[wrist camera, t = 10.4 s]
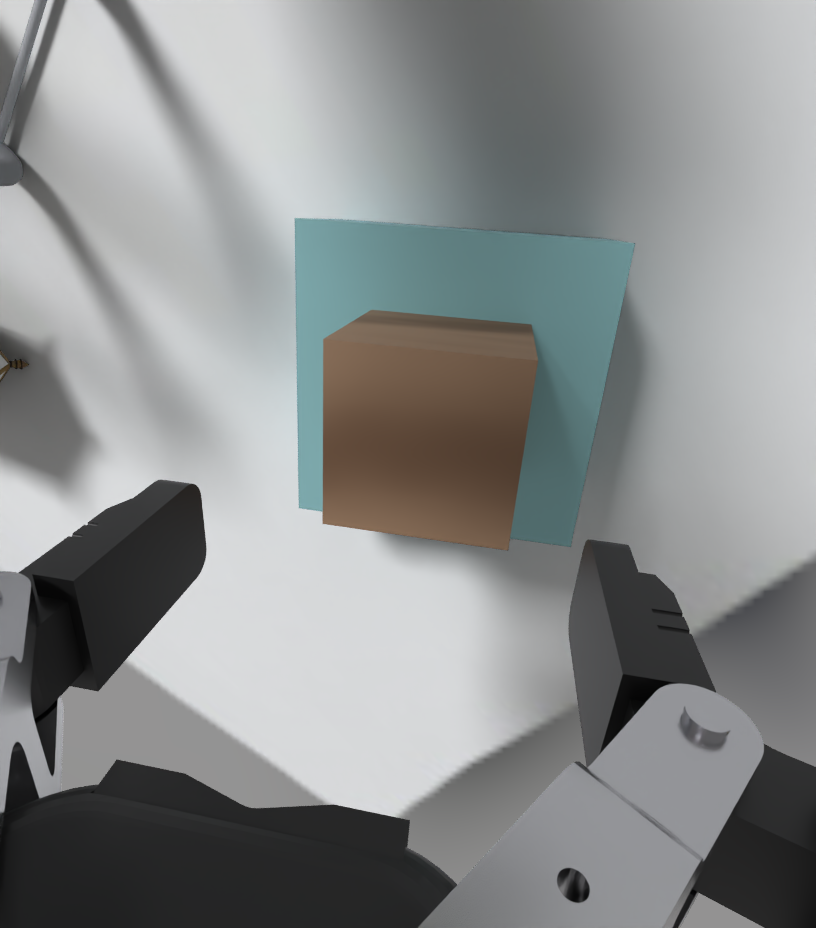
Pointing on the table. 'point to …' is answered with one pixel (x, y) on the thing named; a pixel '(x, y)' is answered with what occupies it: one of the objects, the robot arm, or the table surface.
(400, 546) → the table surface
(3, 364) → the game die
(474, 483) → the walnut cube
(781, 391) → the table surface
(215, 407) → the table surface
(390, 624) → the table surface
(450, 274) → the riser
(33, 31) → the newton's cradle
